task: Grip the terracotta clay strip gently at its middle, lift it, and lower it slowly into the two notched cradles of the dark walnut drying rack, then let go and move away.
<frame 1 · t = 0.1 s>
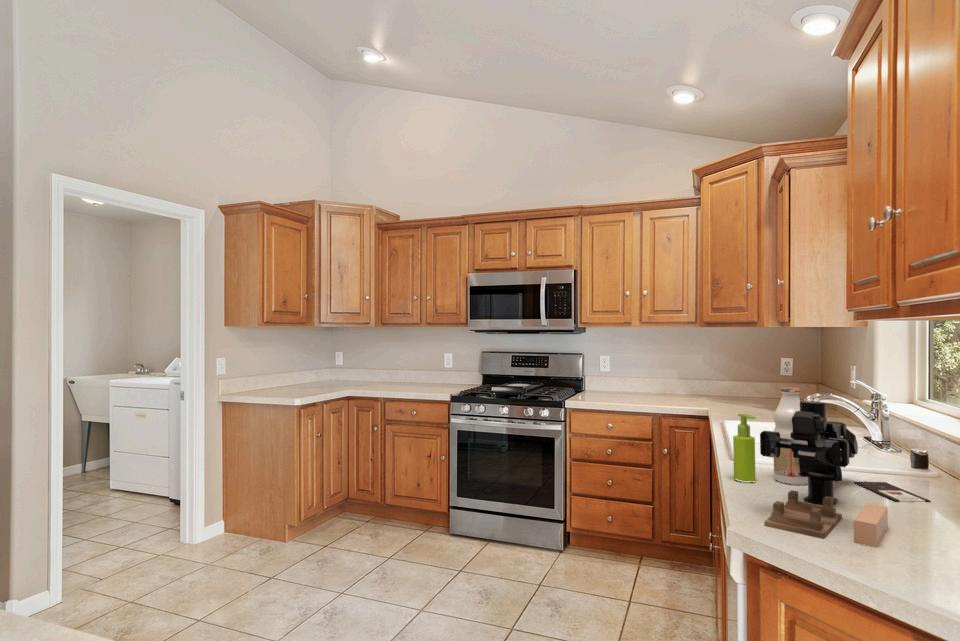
hand: (793, 453, 128), 17 cm above the worktop, tool horizontal, fingers open, 9 cm apart
chocolate bar: (889, 494, 154), on the worktop
soap dispenser: (745, 481, 166), on the worktop
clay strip: (871, 535, 122), on the worktop
fruit juice: (791, 482, 165), on the worktop
drying rack: (803, 521, 130), on the worktop
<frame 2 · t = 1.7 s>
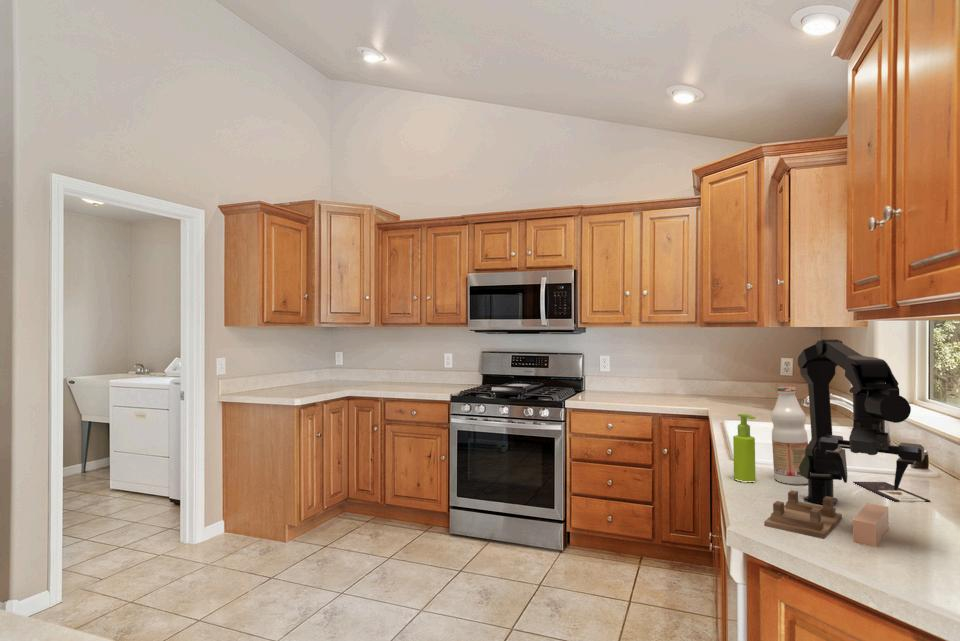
hand: (870, 486, 122), 11 cm above the worktop, tool pointing down, fingers open, 9 cm apart
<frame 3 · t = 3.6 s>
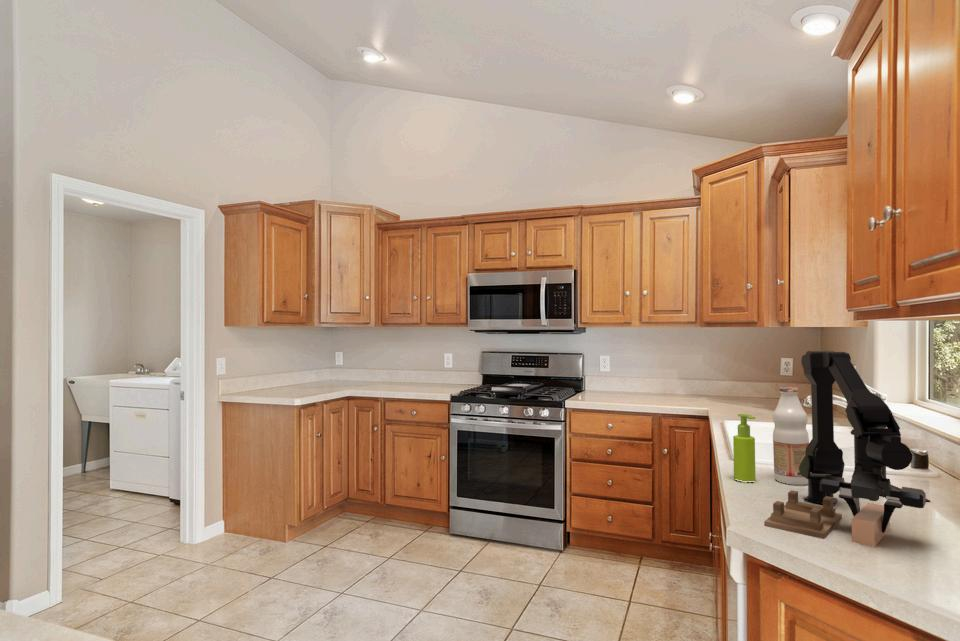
hand: (871, 529, 122), 1 cm above the worktop, tool pointing down, fingers closed on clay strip, 4 cm apart
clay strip: (871, 535, 122), on the worktop, touching gripper
everything else where it was.
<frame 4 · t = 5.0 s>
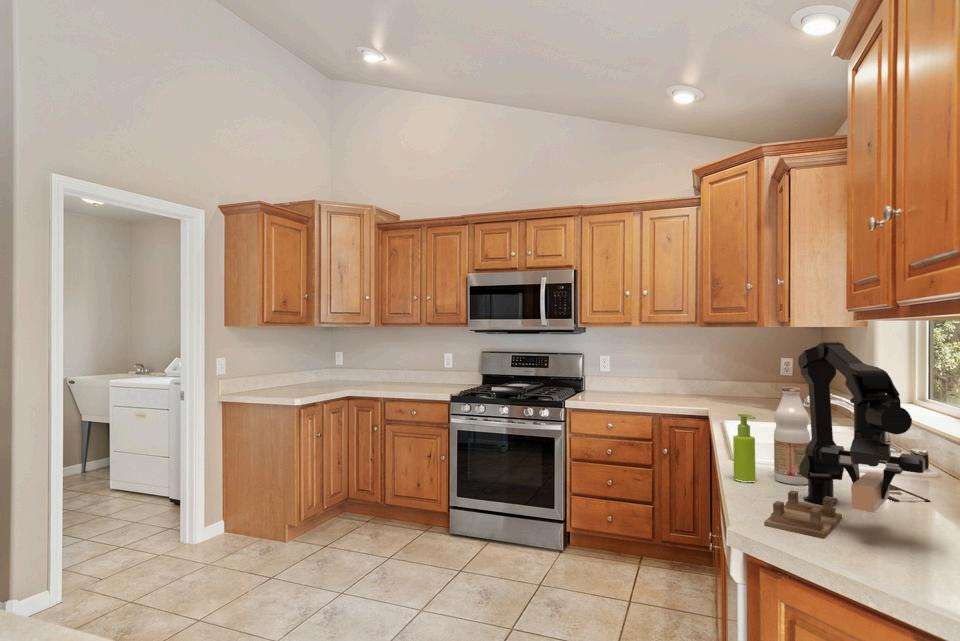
hand: (870, 497, 122), 8 cm above the worktop, tool pointing down, fingers closed on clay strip, 4 cm apart
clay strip: (871, 502, 122), point 7 cm above the worktop, touching gripper
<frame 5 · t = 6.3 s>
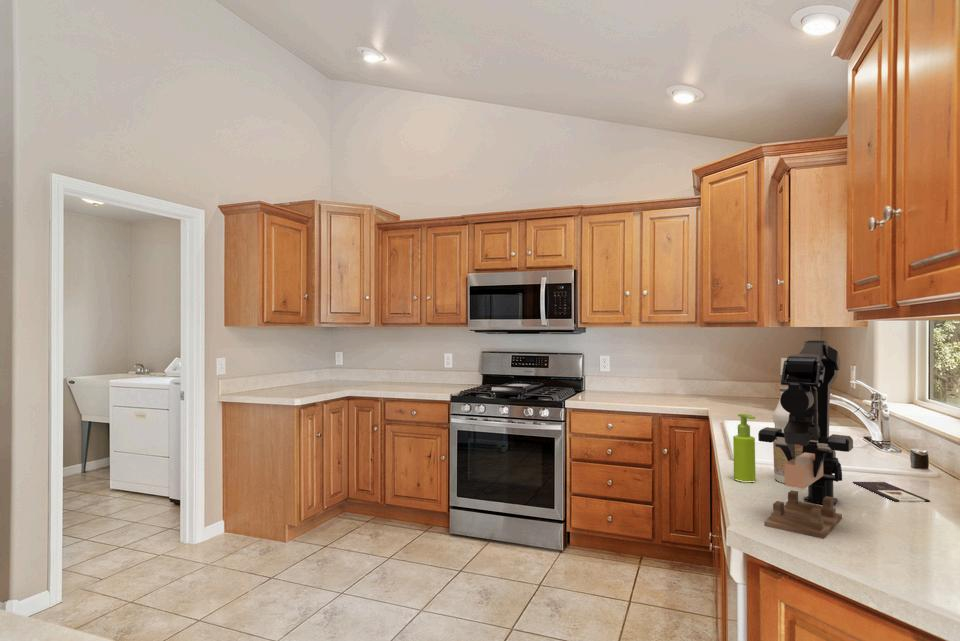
hand: (804, 475, 130), 11 cm above the worktop, tool pointing down, fingers closed on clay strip, 4 cm apart
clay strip: (804, 480, 130), point 10 cm above the worktop, touching gripper
when the fingers open (4 cm above the worktop, at t = 8.5 s): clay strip stays where it is, resting on drying rack.
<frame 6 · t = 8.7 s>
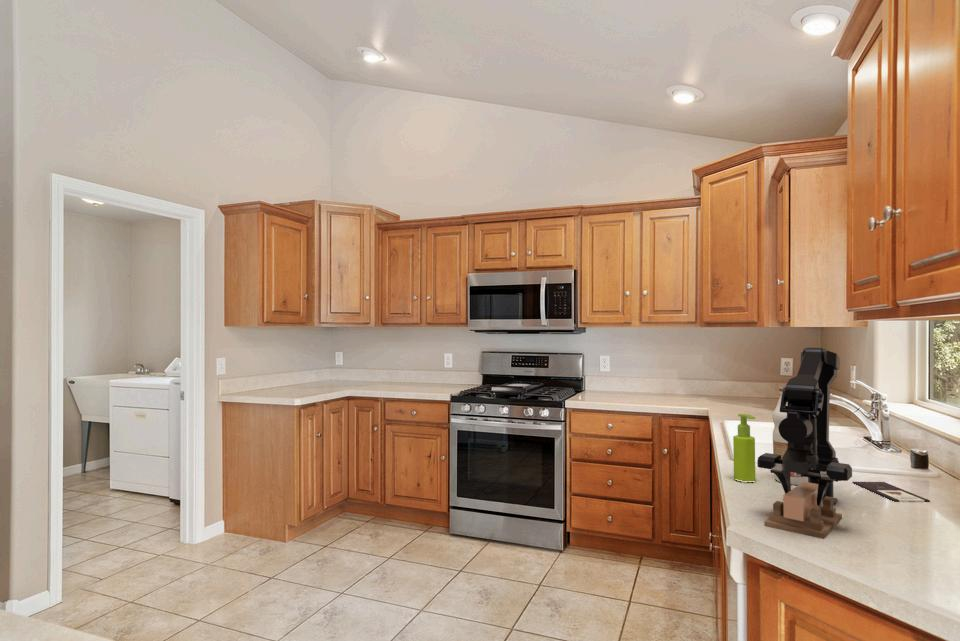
hand: (803, 502, 130), 4 cm above the worktop, tool pointing down, fingers open, 6 cm apart
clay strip: (803, 511, 130), point 2 cm above the worktop, touching drying rack
everything else where it was.
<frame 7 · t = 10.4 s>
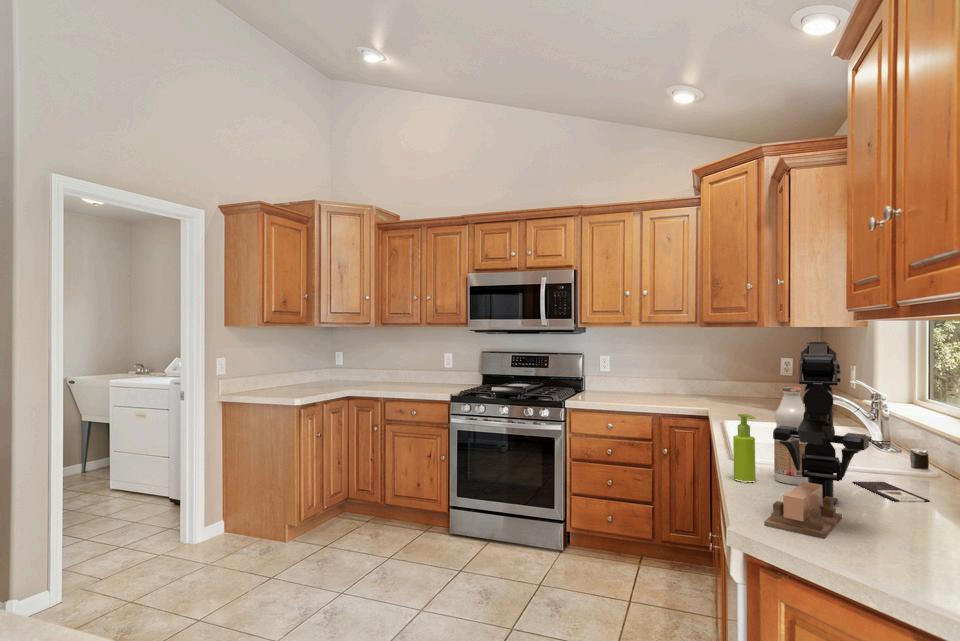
hand: (819, 473, 131), 11 cm above the worktop, tool pointing down, fingers open, 9 cm apart
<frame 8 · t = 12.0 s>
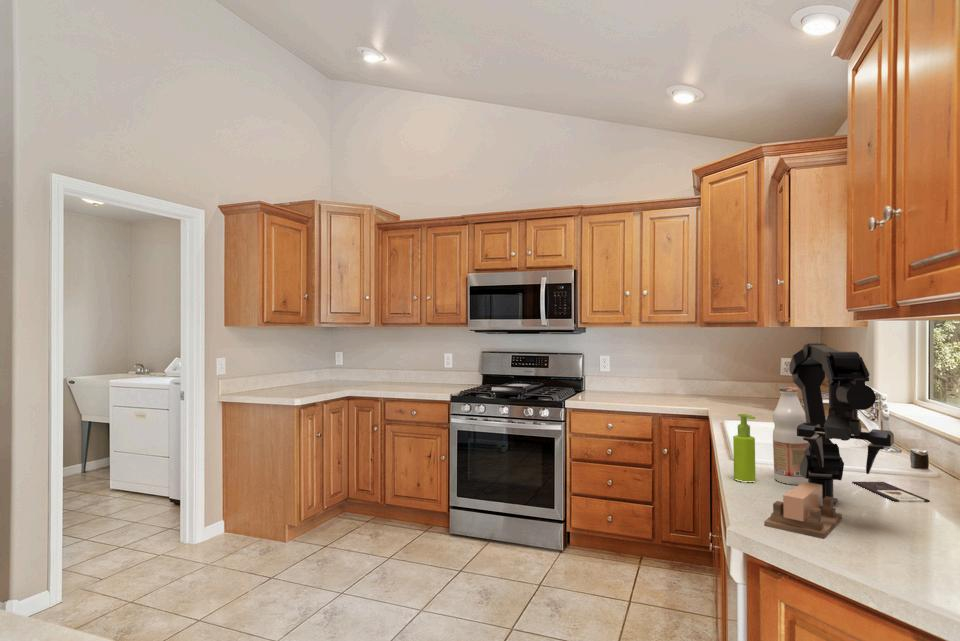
hand: (844, 470, 131), 12 cm above the worktop, tool pointing down, fingers open, 9 cm apart
nothing on the worktop moved.
at the end: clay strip 0.0 cm off-centre on the drying rack, point 2.5 cm above the drying rack's base; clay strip tilted 0°; the gripper is holding nothing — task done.
